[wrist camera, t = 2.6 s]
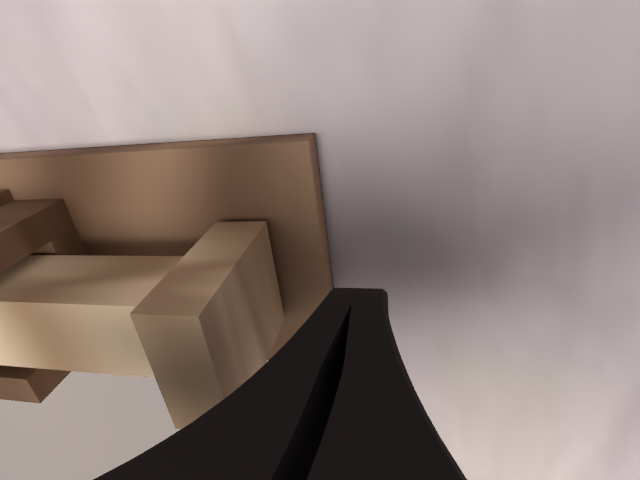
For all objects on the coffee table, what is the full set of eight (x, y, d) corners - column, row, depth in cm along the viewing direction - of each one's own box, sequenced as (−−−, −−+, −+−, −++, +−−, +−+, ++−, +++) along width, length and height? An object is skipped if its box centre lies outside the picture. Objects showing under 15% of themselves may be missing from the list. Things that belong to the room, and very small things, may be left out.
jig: (315, 133, 12) (262, 196, 8) (340, 348, 16) (314, 465, 12) (-125, 161, 16) (-306, 212, 12) (-21, 328, 19) (-133, 409, 16)
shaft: (266, 221, 12) (197, 316, 8) (284, 319, 14) (234, 434, 10) (17, 224, 14) (-126, 302, 11) (59, 309, 16) (-52, 402, 12)
